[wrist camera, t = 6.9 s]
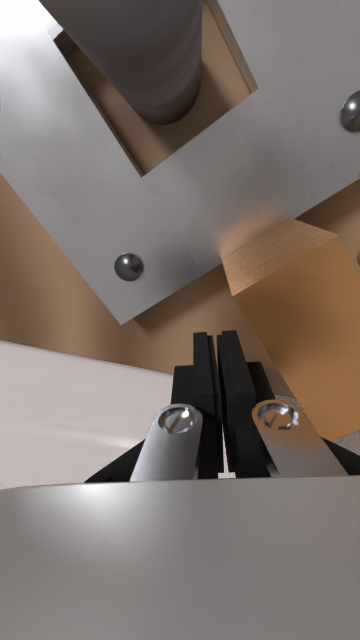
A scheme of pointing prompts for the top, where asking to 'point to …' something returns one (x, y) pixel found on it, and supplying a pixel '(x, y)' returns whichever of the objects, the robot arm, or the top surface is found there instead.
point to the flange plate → (209, 185)
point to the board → (148, 152)
